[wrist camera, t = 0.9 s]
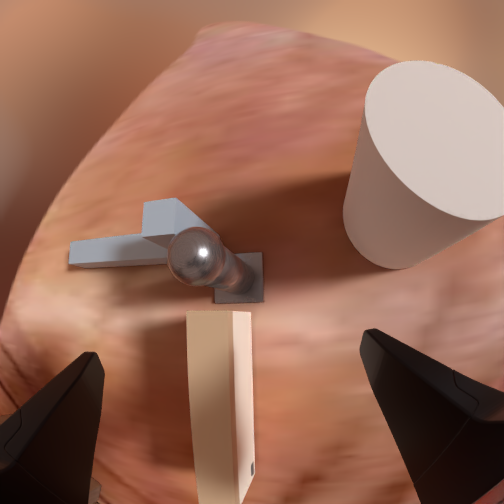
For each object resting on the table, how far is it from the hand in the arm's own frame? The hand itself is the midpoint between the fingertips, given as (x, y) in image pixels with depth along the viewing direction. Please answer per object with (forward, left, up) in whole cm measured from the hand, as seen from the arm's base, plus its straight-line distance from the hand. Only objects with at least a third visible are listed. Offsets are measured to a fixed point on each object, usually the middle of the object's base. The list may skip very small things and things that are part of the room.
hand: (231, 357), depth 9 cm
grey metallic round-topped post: (+4, +3, -12) cm, 13 cm away
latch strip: (+7, +12, -12) cm, 18 cm away
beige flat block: (-5, +3, -12) cm, 13 cm away
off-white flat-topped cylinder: (+8, -9, -13) cm, 18 cm away
